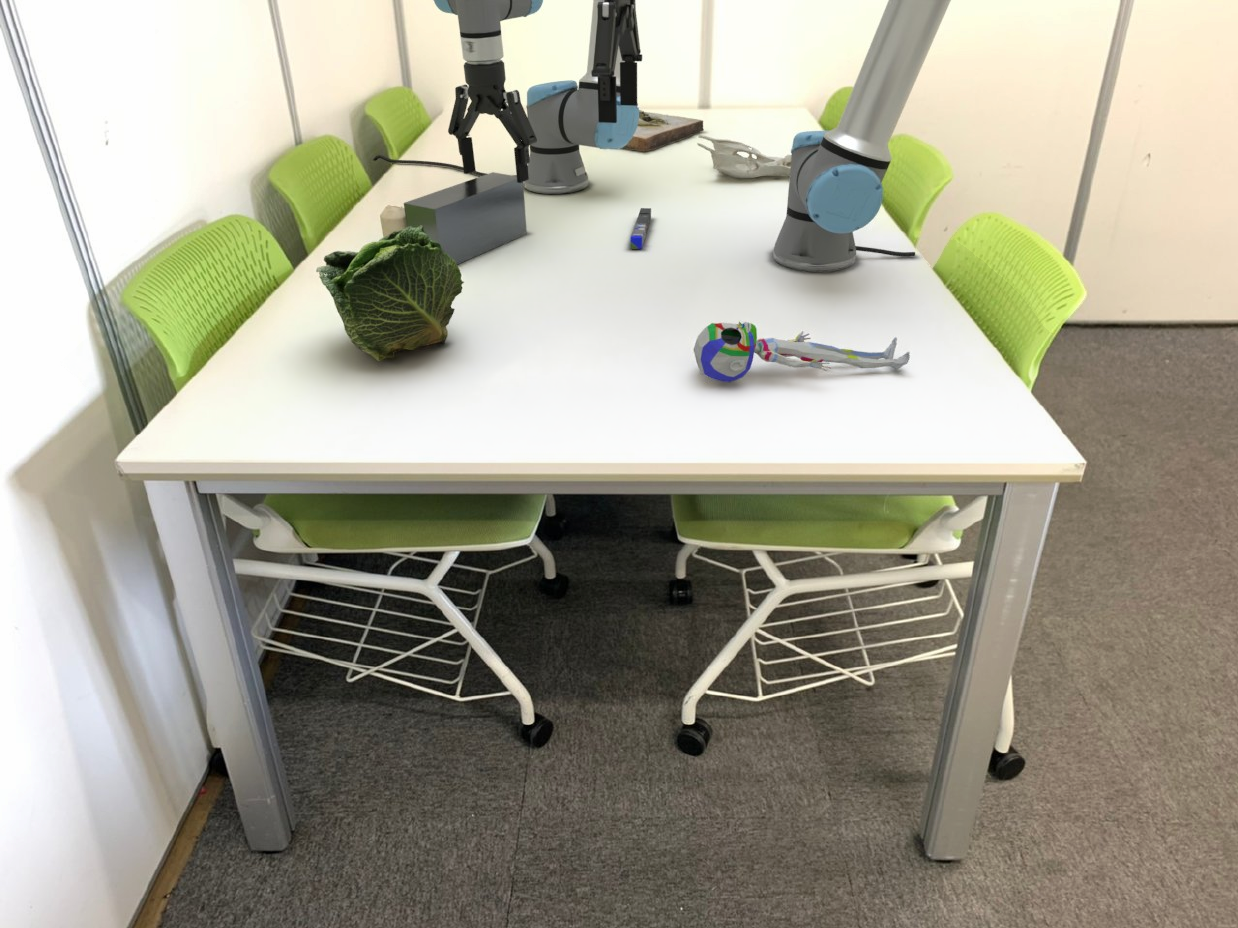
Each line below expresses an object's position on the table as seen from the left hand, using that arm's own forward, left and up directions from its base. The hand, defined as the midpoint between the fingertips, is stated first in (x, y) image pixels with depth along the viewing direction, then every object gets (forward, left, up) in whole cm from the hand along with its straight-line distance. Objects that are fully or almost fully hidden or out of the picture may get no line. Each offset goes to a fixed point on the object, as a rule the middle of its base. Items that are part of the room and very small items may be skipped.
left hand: (496, 176), depth 178 cm
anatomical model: (+10, +70, -12) cm, 72 cm away
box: (+2, -9, -12) cm, 15 cm away
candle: (-3, -22, -12) cm, 25 cm away
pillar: (+21, +20, -12) cm, 31 cm away
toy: (+81, -11, -12) cm, 82 cm away
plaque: (-42, +84, -12) cm, 94 cm away
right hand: (+38, -4, +17) cm, 42 cm away
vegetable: (+31, -45, -12) cm, 56 cm away
